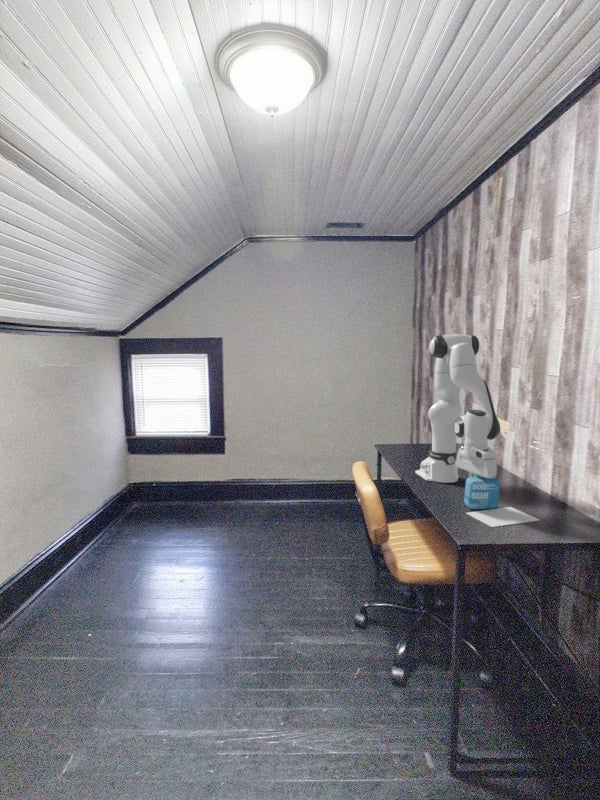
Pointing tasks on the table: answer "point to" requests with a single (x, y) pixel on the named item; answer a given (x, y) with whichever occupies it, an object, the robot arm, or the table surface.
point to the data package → (481, 493)
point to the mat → (502, 517)
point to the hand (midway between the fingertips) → (474, 483)
